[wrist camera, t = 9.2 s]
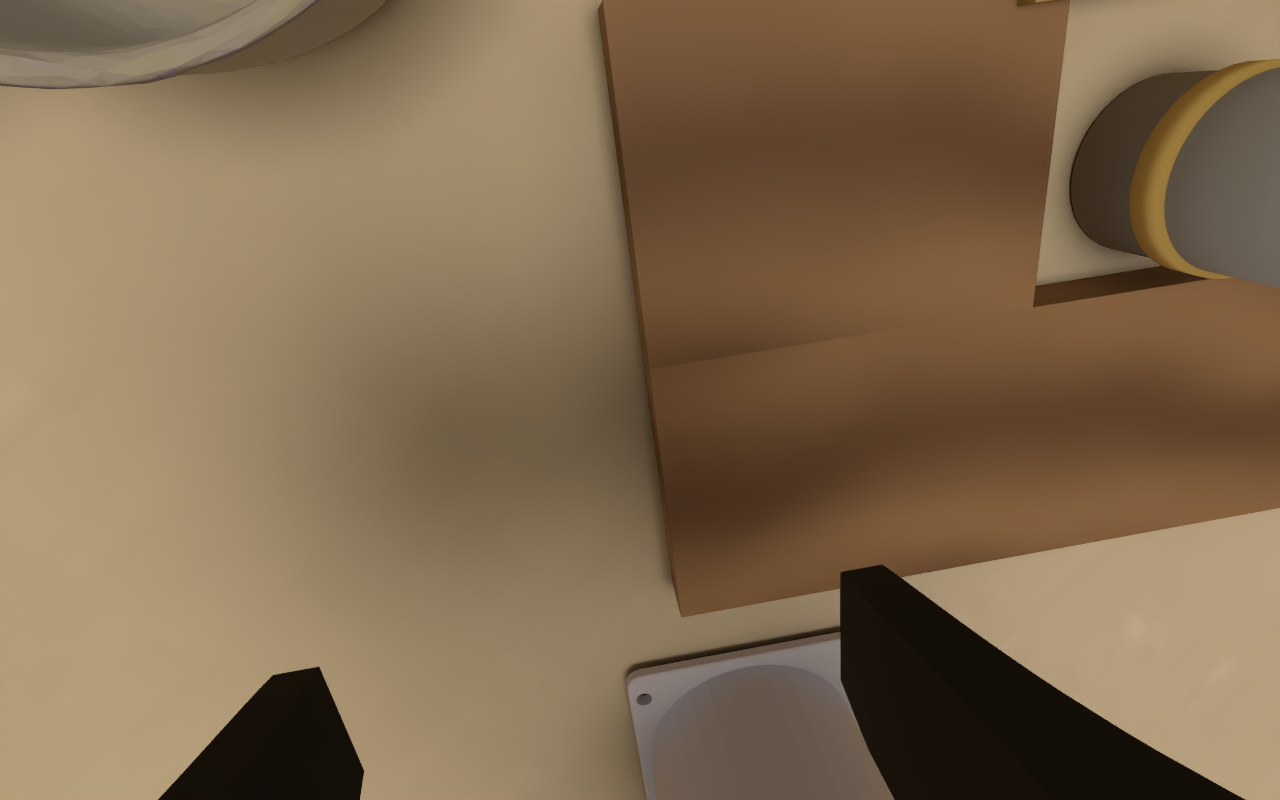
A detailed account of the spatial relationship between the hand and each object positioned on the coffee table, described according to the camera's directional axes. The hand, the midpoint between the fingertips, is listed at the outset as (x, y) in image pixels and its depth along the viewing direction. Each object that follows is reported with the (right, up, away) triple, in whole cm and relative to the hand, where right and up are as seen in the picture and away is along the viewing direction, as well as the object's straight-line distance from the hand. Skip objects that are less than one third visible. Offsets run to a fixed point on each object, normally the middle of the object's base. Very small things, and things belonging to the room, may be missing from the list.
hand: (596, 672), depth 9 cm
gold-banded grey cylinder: (+14, +10, +8) cm, 19 cm away
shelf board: (+11, +7, +9) cm, 16 cm away
